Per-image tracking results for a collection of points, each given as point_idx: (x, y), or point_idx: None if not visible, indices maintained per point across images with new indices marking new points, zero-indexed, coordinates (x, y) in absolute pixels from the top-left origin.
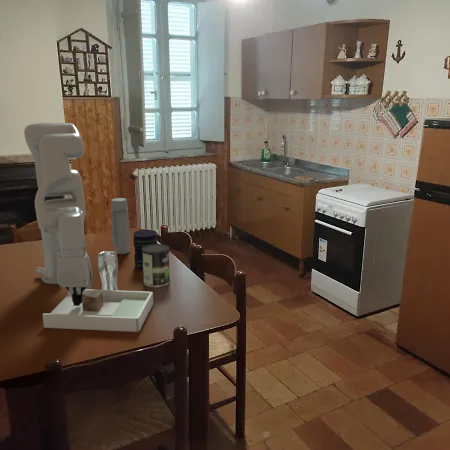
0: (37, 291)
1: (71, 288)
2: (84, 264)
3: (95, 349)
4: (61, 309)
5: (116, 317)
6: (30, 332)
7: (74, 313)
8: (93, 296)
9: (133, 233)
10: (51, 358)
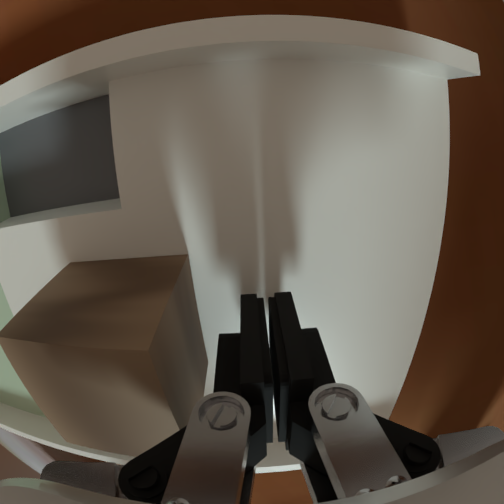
0: (486, 398)
1: (349, 463)
2: None
3: None
4: (389, 252)
5: None
6: (448, 23)
7: (243, 196)
8: (34, 358)
9: None
10: None
